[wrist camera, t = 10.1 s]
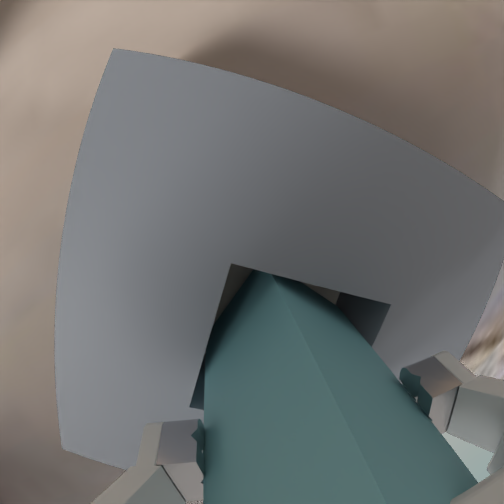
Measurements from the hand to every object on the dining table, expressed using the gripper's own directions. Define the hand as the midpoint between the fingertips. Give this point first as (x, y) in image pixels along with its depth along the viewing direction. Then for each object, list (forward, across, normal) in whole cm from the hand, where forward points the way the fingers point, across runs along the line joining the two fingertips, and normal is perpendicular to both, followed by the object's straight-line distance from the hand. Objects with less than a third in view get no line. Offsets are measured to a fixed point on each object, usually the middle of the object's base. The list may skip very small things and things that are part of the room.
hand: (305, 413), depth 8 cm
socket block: (+8, 0, 0) cm, 8 cm away
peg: (+6, 0, 0) cm, 6 cm away
